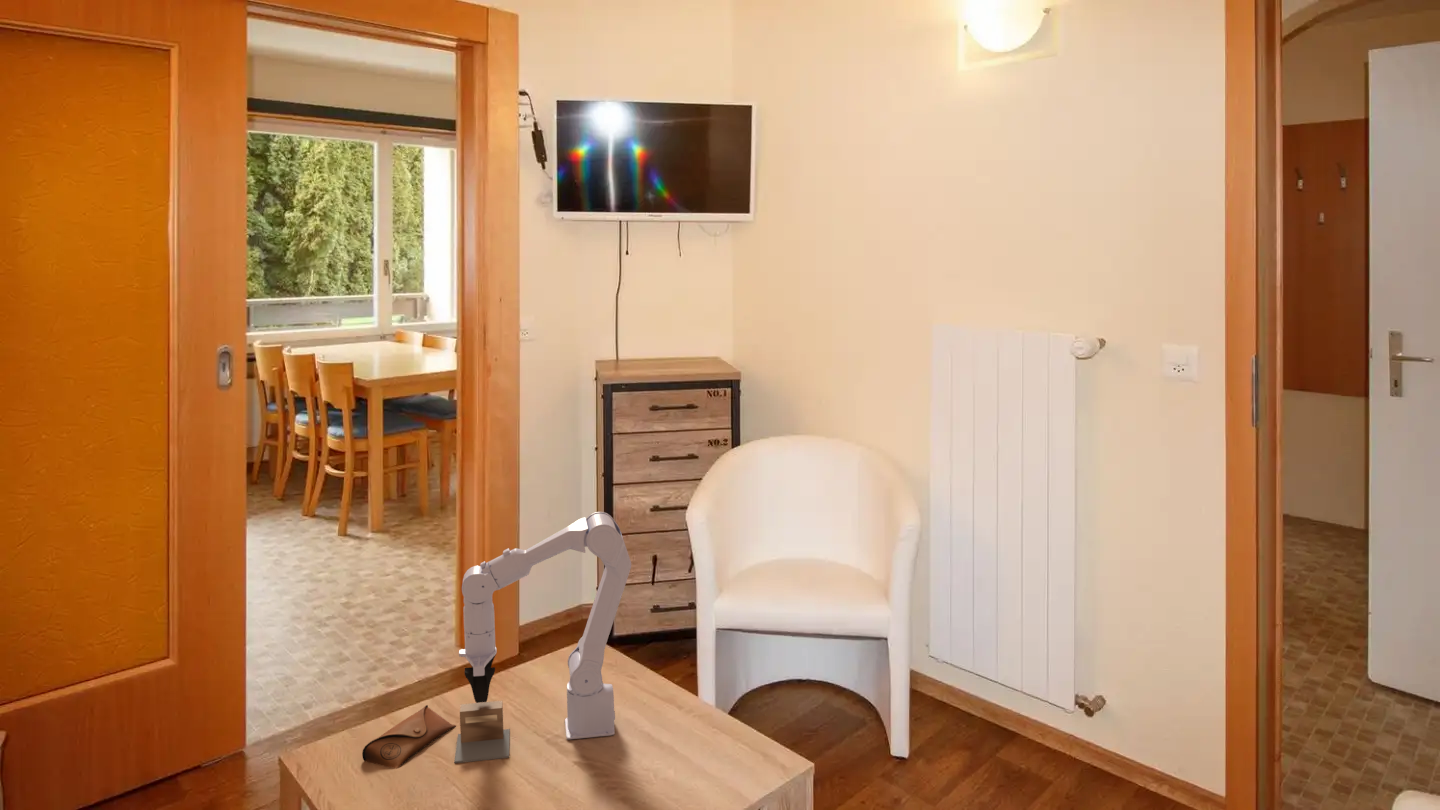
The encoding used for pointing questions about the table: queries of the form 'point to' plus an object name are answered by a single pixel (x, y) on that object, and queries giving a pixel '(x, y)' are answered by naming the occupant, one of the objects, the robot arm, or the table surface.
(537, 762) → the table surface
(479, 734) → the brown rectangular block
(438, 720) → the sunglasses case
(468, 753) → the felt mat
